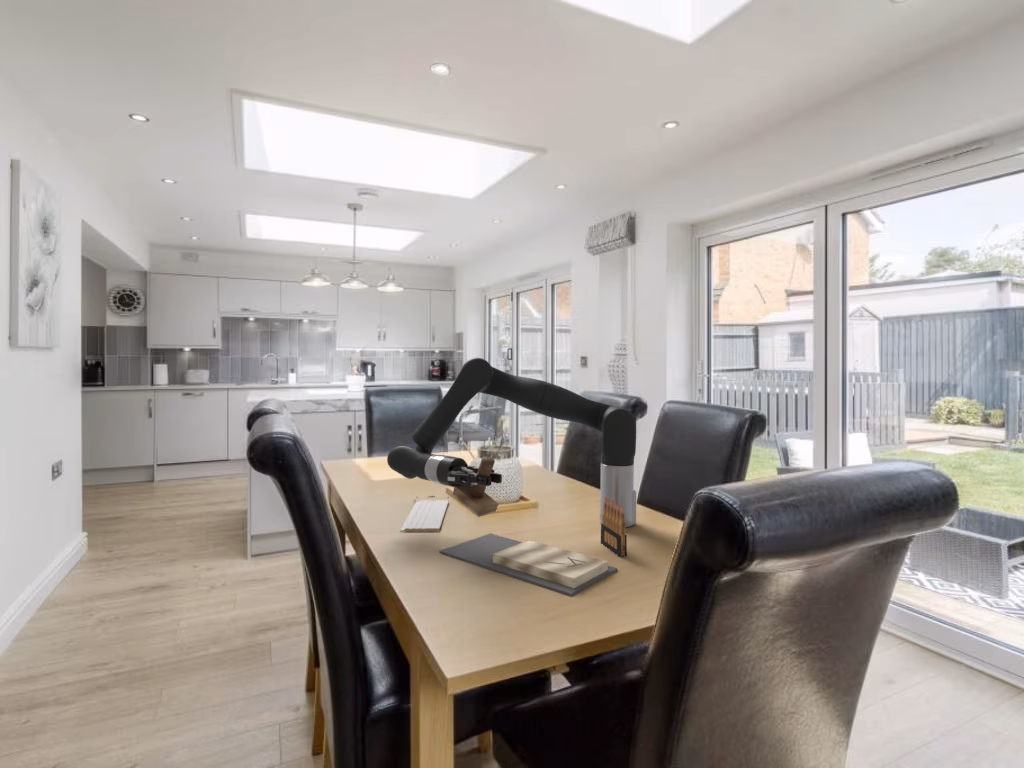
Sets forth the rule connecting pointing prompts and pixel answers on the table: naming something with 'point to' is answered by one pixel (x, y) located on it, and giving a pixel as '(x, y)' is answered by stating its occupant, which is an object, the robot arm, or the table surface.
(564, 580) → the pine board
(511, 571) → the rubber mat
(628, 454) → the robot arm
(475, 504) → the sanding block
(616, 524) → the ammunition clip
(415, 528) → the baseboard molding
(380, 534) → the table surface
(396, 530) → the table surface
